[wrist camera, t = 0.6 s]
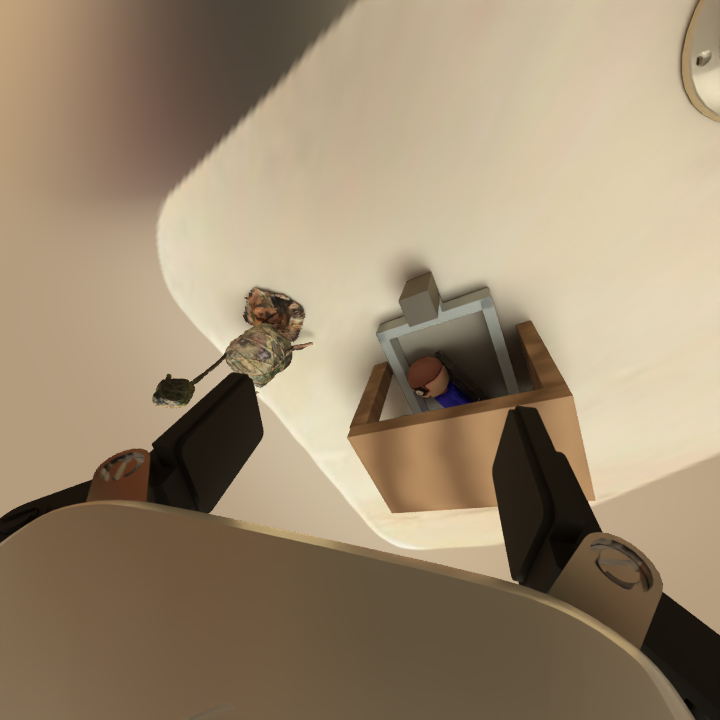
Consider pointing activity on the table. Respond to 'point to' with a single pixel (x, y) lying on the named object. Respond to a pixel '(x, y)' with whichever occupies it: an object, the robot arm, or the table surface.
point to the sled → (429, 310)
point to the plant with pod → (249, 347)
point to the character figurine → (440, 381)
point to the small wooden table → (460, 439)
